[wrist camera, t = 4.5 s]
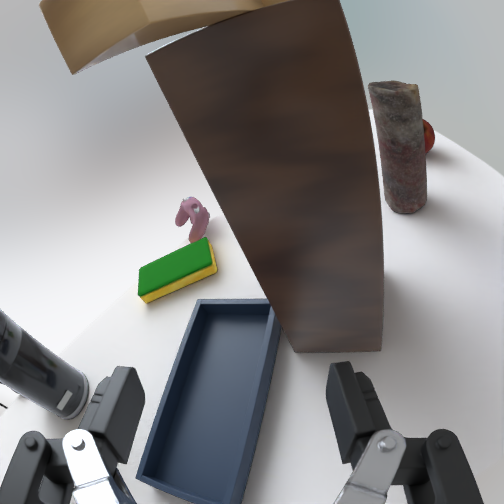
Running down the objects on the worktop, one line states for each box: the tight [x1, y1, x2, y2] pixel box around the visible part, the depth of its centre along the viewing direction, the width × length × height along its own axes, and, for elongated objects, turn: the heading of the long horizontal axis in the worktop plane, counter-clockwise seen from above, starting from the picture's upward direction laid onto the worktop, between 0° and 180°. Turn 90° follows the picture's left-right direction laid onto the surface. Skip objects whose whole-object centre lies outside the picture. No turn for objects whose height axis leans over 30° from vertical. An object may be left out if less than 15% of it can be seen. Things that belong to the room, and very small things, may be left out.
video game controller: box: [175, 197, 210, 243], centre depth 57 cm, size 10×5×7 cm, turn 32°
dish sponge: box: [138, 237, 217, 303], centre depth 49 cm, size 7×14×2 cm, turn 104°
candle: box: [368, 81, 427, 213], centre depth 37 cm, size 8×7×20 cm
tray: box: [136, 299, 282, 504], centre depth 31 cm, size 12×26×3 cm, turn 167°
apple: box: [423, 119, 435, 153], centre depth 49 cm, size 7×8×8 cm
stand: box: [145, 0, 384, 352], centre depth 25 cm, size 10×12×32 cm
